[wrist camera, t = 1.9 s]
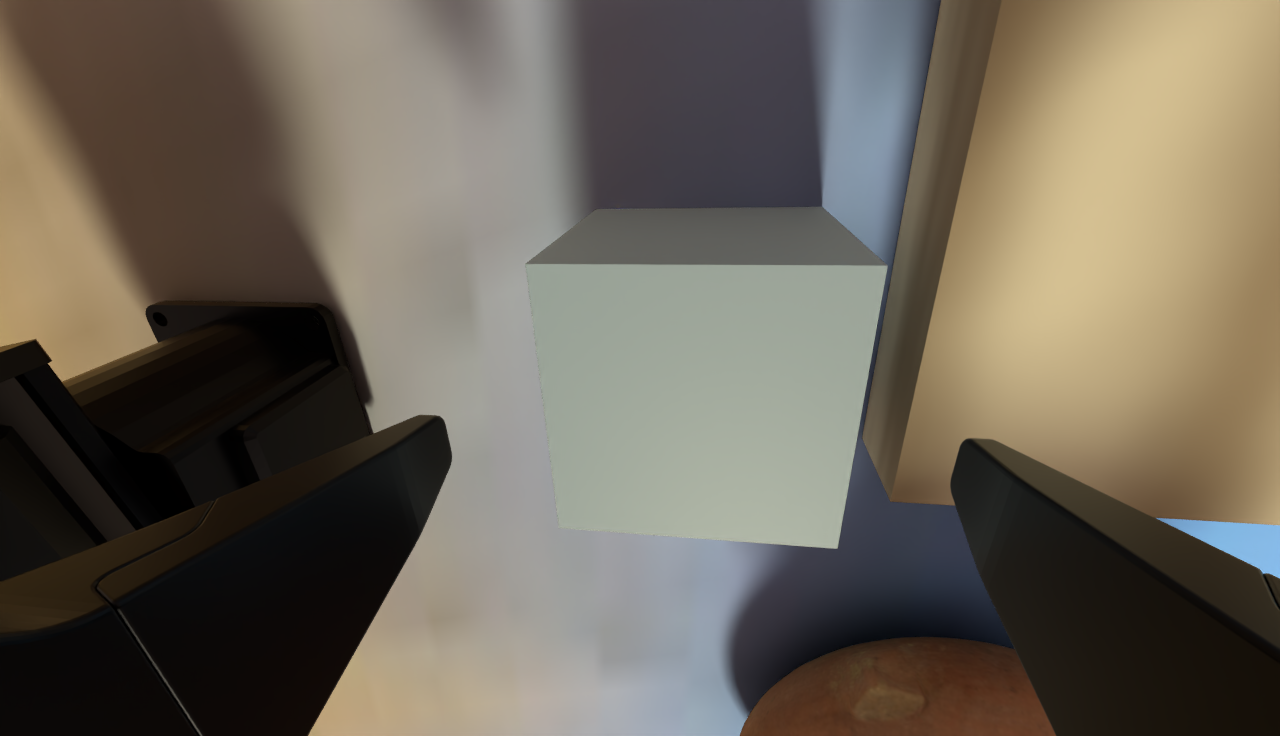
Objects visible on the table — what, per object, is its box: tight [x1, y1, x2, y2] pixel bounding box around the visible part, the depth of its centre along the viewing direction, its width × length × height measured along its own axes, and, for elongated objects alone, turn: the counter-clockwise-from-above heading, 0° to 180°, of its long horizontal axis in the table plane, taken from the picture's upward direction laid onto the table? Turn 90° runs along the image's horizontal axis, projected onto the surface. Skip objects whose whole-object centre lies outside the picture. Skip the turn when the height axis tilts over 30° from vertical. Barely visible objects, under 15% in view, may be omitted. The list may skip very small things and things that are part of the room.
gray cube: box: [525, 207, 888, 549], centre depth 13 cm, size 6×6×6 cm
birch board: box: [862, 0, 1280, 525], centre depth 12 cm, size 12×12×3 cm
